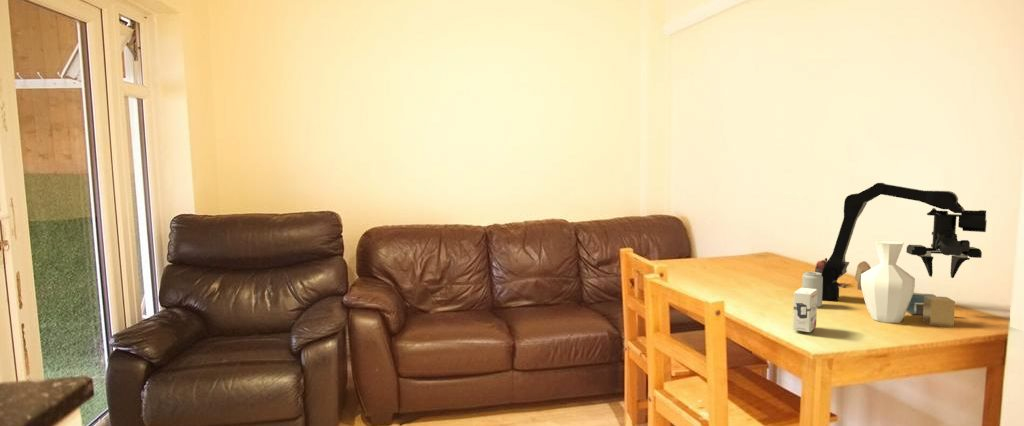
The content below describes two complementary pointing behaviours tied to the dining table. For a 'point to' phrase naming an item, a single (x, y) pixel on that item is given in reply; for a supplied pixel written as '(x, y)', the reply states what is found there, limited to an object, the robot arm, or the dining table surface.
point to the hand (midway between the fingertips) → (941, 277)
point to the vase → (887, 285)
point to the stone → (861, 269)
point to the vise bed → (912, 310)
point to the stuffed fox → (820, 267)
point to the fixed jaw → (918, 308)
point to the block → (938, 311)
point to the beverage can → (813, 284)
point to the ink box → (805, 309)
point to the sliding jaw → (918, 298)
